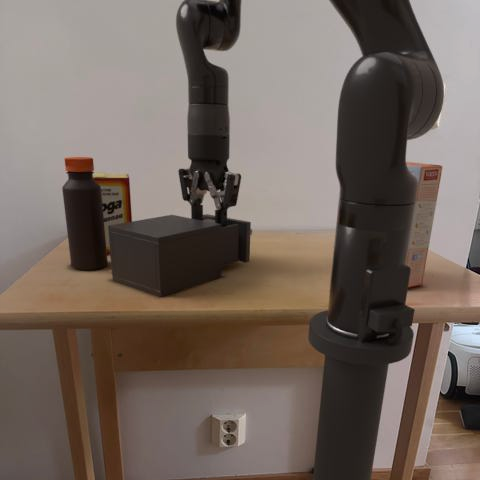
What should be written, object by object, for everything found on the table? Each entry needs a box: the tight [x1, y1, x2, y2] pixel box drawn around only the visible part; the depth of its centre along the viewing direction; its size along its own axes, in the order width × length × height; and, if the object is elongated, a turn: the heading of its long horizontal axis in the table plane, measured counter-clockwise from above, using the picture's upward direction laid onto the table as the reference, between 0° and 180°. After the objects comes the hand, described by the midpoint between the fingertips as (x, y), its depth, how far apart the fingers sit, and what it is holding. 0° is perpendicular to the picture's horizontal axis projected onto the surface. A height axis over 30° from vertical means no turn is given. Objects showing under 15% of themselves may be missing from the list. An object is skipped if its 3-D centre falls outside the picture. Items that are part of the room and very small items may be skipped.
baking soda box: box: [93, 172, 133, 255], centre depth 103 cm, size 10×6×16 cm
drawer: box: [203, 213, 253, 268], centre depth 95 cm, size 18×12×8 cm, turn 140°
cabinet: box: [108, 214, 222, 298], centre depth 86 cm, size 15×13×10 cm
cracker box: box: [406, 161, 443, 289], centre depth 87 cm, size 14×6×21 cm, turn 32°
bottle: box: [61, 156, 108, 271], centre depth 91 cm, size 7×7×20 cm
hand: (208, 226), depth 93 cm, fingers open, 5 cm apart
